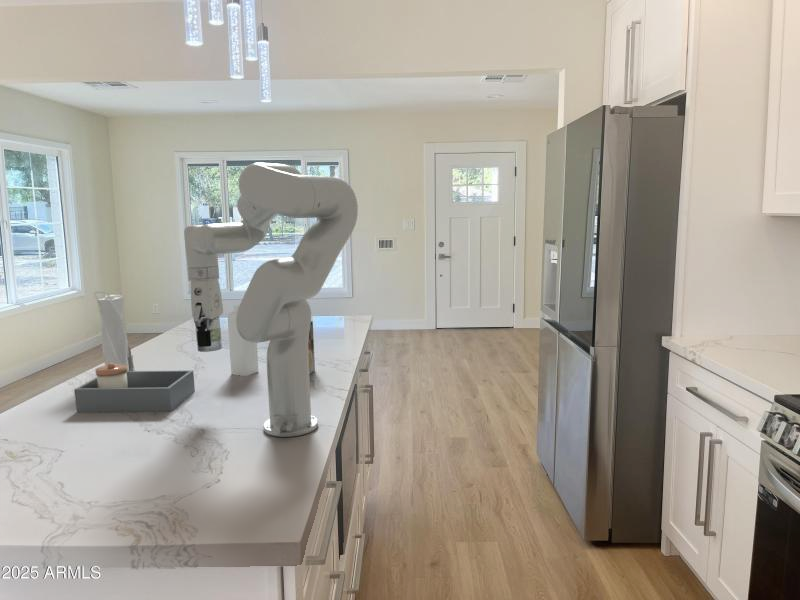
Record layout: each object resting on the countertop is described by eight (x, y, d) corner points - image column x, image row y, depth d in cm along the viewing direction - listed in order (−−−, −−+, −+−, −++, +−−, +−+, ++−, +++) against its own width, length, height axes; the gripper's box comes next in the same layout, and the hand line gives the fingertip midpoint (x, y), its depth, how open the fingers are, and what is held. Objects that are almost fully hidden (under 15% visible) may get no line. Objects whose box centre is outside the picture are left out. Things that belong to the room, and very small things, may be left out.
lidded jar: (121, 406, 148) (117, 366, 146) (93, 406, 148) (89, 367, 146) (135, 396, 155) (131, 359, 154) (108, 397, 155) (104, 359, 154)
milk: (231, 374, 179) (225, 305, 175) (244, 369, 184) (239, 302, 180) (246, 376, 176) (241, 306, 172) (259, 371, 181) (254, 303, 178)
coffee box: (296, 369, 183) (294, 320, 180) (315, 370, 181) (313, 320, 179) (285, 378, 174) (282, 326, 171) (305, 378, 173) (302, 326, 170)
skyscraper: (105, 387, 167) (95, 293, 163) (101, 381, 174) (92, 290, 169) (136, 382, 172) (127, 290, 167) (132, 376, 178) (123, 287, 174)
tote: (171, 415, 144) (169, 388, 142) (77, 416, 144) (74, 389, 143) (195, 394, 159) (193, 370, 158) (110, 395, 160) (107, 371, 159)
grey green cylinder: (217, 351, 145) (215, 320, 143) (193, 352, 145) (190, 321, 143) (225, 346, 151) (222, 316, 149) (202, 346, 151) (199, 316, 150)
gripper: (206, 277, 136) (212, 350, 139) (228, 270, 153) (234, 336, 156) (175, 278, 136) (181, 351, 139) (201, 271, 153) (206, 336, 156)
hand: (209, 342), depth 147 cm, fingers closed on grey green cylinder, 6 cm apart
